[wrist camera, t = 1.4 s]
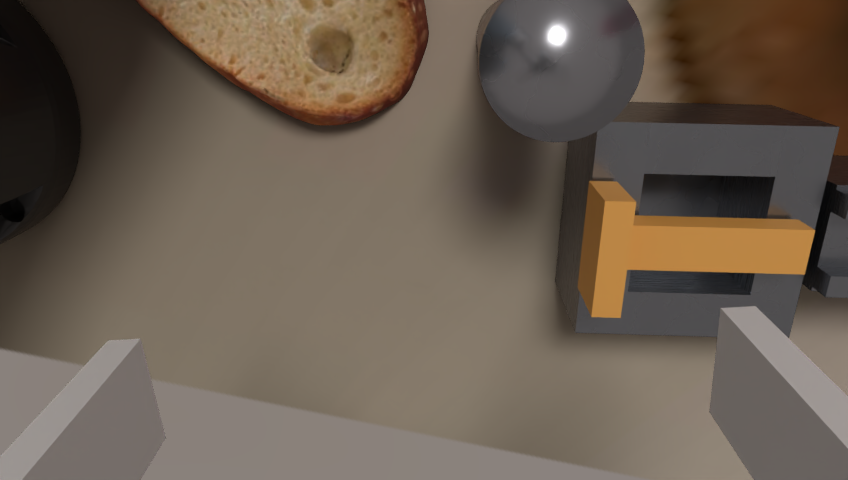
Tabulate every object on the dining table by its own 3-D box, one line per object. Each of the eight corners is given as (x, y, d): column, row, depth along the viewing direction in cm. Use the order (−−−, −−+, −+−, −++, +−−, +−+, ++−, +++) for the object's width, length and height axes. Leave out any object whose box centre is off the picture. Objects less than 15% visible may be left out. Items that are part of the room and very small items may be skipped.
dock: (555, 281, 36) (579, 344, 30) (572, 100, 33) (604, 126, 26) (945, 292, 36) (1058, 358, 29) (1004, 110, 32) (1148, 138, 26)
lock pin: (577, 287, 30) (591, 316, 27) (589, 180, 28) (605, 201, 25) (781, 292, 29) (817, 323, 27) (805, 186, 28) (846, 207, 25)
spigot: (464, 88, 33) (475, 140, 21) (468, -18, 31) (483, -30, 19) (563, 90, 33) (633, 144, 21) (572, -16, 31) (655, -27, 19)
